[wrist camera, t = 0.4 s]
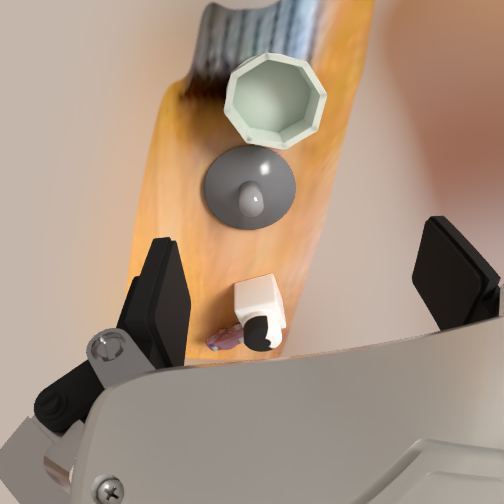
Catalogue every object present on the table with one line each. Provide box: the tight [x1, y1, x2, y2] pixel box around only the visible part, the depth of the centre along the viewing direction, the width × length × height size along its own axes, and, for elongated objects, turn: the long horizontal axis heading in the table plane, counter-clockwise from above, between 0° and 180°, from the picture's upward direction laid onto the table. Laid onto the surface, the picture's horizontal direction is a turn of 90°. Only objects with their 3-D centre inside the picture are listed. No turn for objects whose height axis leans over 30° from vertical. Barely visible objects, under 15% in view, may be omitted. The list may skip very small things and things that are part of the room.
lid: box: [204, 145, 296, 230], centre depth 44 cm, size 13×13×6 cm
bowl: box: [223, 52, 327, 150], centre depth 36 cm, size 12×12×6 cm
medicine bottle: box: [234, 274, 286, 352], centre depth 54 cm, size 7×7×12 cm
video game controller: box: [205, 323, 244, 351], centre depth 62 cm, size 10×5×7 cm, turn 117°
